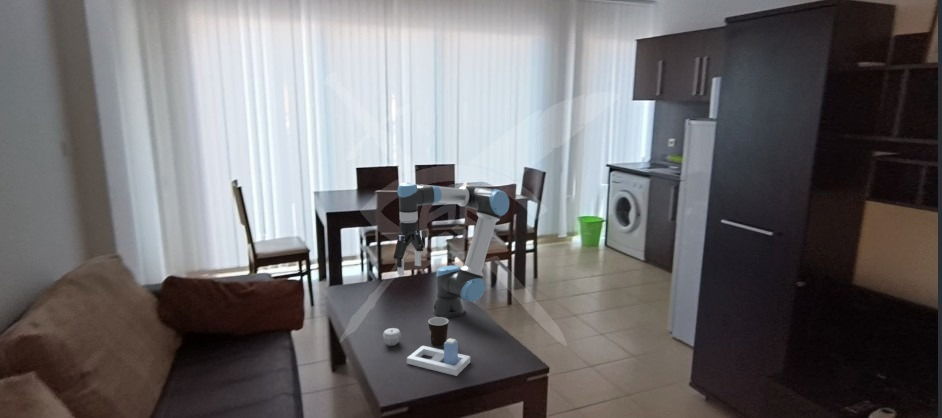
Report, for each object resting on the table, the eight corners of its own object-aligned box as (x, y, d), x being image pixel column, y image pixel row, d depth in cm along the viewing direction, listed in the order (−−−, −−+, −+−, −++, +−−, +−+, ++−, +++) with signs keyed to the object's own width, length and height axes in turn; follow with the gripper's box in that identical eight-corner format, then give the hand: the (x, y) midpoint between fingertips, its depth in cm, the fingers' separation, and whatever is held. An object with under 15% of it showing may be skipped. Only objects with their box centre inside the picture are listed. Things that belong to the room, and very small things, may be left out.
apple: (394, 338, 228) (394, 324, 226) (405, 344, 222) (405, 329, 221) (379, 344, 222) (378, 329, 221) (390, 350, 217) (389, 335, 215)
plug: (448, 362, 206) (448, 337, 204) (457, 364, 204) (457, 339, 202) (444, 367, 203) (443, 341, 201) (453, 369, 201) (453, 343, 199)
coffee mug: (445, 348, 218) (445, 326, 216) (426, 346, 220) (425, 324, 218) (452, 336, 229) (452, 315, 228) (433, 334, 231) (433, 313, 229)
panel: (422, 351, 216) (422, 345, 215) (470, 362, 207) (470, 356, 206) (407, 363, 205) (406, 357, 205) (456, 375, 196) (456, 369, 195)
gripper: (416, 214, 229) (417, 261, 233) (383, 226, 207) (385, 277, 211) (431, 216, 225) (431, 263, 230) (399, 228, 203) (400, 279, 207)
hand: (409, 270), depth 220 cm, fingers open, 13 cm apart
